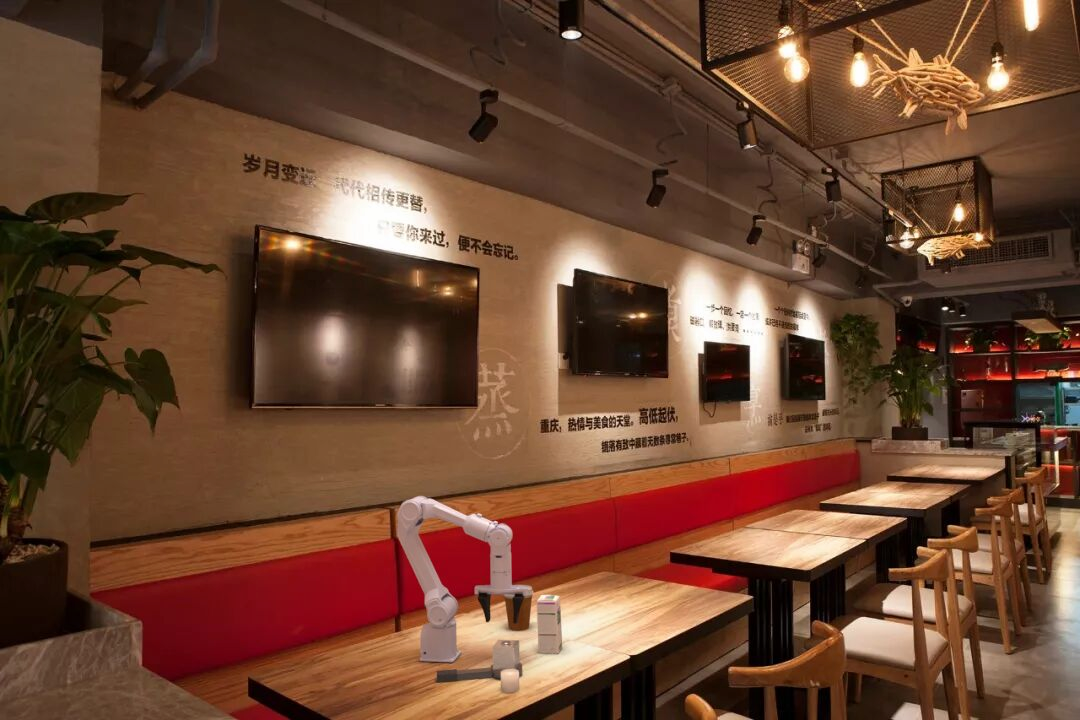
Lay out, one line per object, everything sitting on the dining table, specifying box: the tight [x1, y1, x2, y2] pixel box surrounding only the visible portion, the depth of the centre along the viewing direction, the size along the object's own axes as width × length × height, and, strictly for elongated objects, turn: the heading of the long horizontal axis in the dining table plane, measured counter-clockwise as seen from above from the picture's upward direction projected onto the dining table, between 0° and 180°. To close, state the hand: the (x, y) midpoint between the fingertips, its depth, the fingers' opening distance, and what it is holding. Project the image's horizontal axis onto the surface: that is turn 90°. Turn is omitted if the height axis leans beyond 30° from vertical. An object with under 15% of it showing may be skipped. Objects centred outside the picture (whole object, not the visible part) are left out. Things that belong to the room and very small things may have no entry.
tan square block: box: [492, 639, 521, 670], centre depth 178 cm, size 6×6×6 cm
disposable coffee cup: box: [503, 584, 534, 632], centre depth 216 cm, size 10×10×12 cm
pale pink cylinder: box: [500, 669, 520, 694], centre depth 168 cm, size 4×4×4 cm
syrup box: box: [536, 594, 563, 655], centre depth 195 cm, size 6×6×14 cm
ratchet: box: [436, 662, 523, 683], centre depth 177 cm, size 21×11×4 cm, turn 80°
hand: (501, 621), depth 189 cm, fingers open, 7 cm apart
